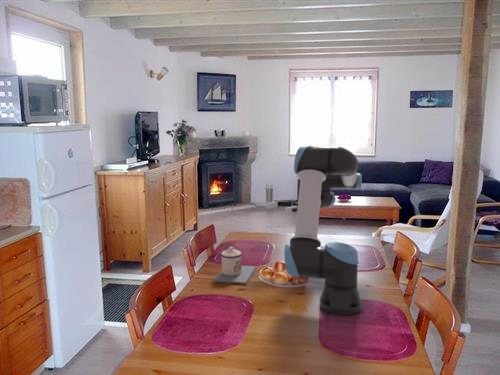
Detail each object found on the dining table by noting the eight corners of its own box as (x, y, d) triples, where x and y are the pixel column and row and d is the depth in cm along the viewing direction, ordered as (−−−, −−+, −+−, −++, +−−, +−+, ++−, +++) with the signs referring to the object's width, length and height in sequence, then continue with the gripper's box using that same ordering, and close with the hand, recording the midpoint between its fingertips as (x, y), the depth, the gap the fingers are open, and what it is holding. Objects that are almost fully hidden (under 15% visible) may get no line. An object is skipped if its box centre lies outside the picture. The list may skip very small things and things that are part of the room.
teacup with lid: (237, 277, 190) (236, 251, 188) (218, 274, 193) (217, 249, 191) (247, 268, 201) (246, 243, 199) (228, 265, 204) (228, 241, 202)
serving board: (246, 284, 184) (246, 282, 184) (214, 282, 187) (214, 280, 187) (255, 268, 203) (255, 266, 203) (226, 266, 206) (226, 264, 206)
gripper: (328, 214, 204) (294, 221, 191) (291, 206, 223) (259, 211, 210) (328, 198, 202) (294, 204, 190) (291, 191, 222) (258, 196, 209)
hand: (275, 208), depth 200 cm, fingers open, 13 cm apart
